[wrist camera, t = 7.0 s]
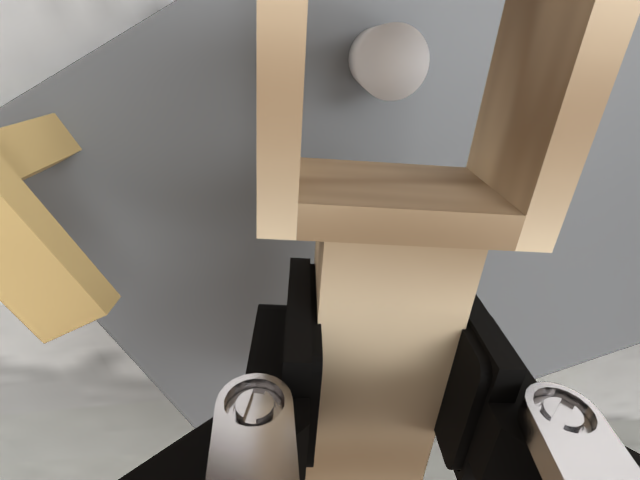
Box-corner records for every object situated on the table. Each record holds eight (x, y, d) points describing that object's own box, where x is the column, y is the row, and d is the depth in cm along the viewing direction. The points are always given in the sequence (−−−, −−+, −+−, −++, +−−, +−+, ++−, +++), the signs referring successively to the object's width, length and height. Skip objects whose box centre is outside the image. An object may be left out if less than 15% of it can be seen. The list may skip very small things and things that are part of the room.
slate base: (715, 299, 20) (870, 398, 14) (243, 462, 25) (223, 584, 19) (678, -296, 11) (1042, -632, 6) (-42, 140, 16) (-231, 192, 10)
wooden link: (274, -97, 7) (256, -174, 5) (557, -70, 8) (691, -128, 5) (265, 478, 15) (256, 576, 12) (410, 481, 15) (433, 576, 12)
